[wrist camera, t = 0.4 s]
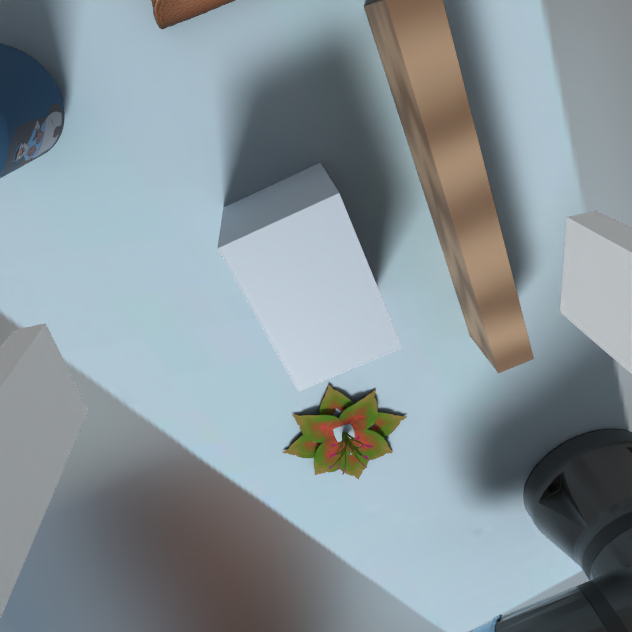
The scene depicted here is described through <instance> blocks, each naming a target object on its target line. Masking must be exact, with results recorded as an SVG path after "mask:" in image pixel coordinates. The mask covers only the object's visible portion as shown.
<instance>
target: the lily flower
mask: <svg viewBox="0 0 632 632" xmlns="http://www.w3.org/2000/svg"><path fill="white" fill-rule="evenodd" d="M375 391H376V389H375V390H374V391H373V392H372V393H370V394H369V395H367V396H366V397H365V398H364V399H361V400H360V401H358V402H357V403H356V404H353V402H352V401H351V400H350V399H349V398H347V397H346V396H344V395H343V394H342V393H340V392H338V391H337V390H333V388H332V387H331V386H330V385H328V389H327V391H326V393H325V397H324V398H323V400H322V403H321V406H320V409H319V415H301V416H299V415H293V414H292V415H293V417H294V418H295V420H296V422H297V424H298V425H300V430H301V432H302V433H303V435H302V436H301V437H299V438H298V439H297V440H296V441H295V442H294V443H293V444H292V445H291V446H290V447H289V449H288V450H285V451H284V452H283V453H288V454H292V455H297V456H298V457H302V458H314V468H315V470H316V472H315V475H316V474H320V473H325V472H334V471H337V470H338V469H340V470H342V471H343V474H344V472H345V473H347V474H349V475H351V476H352V475H353V476H355V477H356V478H357V479H359V477H360V475H361V474H362V470H364V469H365V467H366V466H367V463H368V461H369V460H372V459H376V458H378V457H381V456H383V455H384V454H386V453H392V451H391V449H390V447H388V443H387V442H386V440H385V439H384V438H383V437H386V436H387V435H389V434H390V433H392V432H393V431H394V430H395V429H396V427H397V426H398V425H399V424H400V421H401V420H403V419H405V418H406V417H405V416H404V417H402V416H398V415H395V416H394V415H393V414H388V413H381V412H378V408H377V402H376V399H375V397H374V395H375ZM336 408H338V409H339V410H340V411H342V412H343V413H342V414H341V415H340V417H339V418H337V417H335V416H333V414H334V412H335V409H336ZM350 423H351V425H352V427H353V429H354V432H355V437H354V438H353V437H352V436H350V435H349V434H348V432H345V433H342V441H341V442H337V440H336V438H335V436H334V433H333V429H334V428H337V427H339V426H342V425H346V424H350ZM373 424H375V425H374V426H373V427H372V428H371V429H369V430H368V428H370V427H371V426H372V425H373ZM344 434H345V435H344ZM348 436H349V437H350V438H352V439H350V438H349V437H348ZM314 442H317V443H314ZM320 442H323V443H322V444H320ZM350 452H351V453H352V455H350ZM366 468H367V467H366Z"/></svg>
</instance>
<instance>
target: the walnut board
mask: <svg viewBox="0 0 632 632" xmlns="http://www.w3.org/2000/svg"><path fill="white" fill-rule="evenodd" d="M364 8H365V11H366V14H367V18H368V21H369V24H370V27H371V30H372V33H373V36H374V39H375V42H376V45H377V49H378V52H379V55H380V58H381V61H382V64H383V67H384V70H385V73H386V76H387V80H388V83H389V86H390V89H391V92H392V95H393V98H394V101H395V104H396V107H397V111H398V114H399V117H400V120H401V123H402V126H403V129H404V132H405V135H406V138H407V142H408V145H409V148H410V151H411V154H412V157H413V160H414V163H415V166H416V170H417V173H418V176H419V179H420V182H421V185H422V188H423V191H424V194H425V197H426V201H427V204H428V207H429V210H430V213H431V216H432V219H433V222H434V225H435V228H436V232H437V235H438V238H439V241H440V244H441V247H442V250H443V253H444V256H445V259H446V263H447V266H448V269H449V272H450V275H451V278H452V281H453V284H454V287H455V291H456V294H457V297H458V300H459V303H460V306H461V309H462V312H463V315H464V318H465V322H466V325H467V328H468V331H469V334H470V337H471V338H472V339H473V340H474V342H475V343H476V344H477V346H478V347H479V348H480V350H481V351H482V352H483V354H484V355H485V356H486V358H487V359H488V360H489V361H490V363H491V364H492V365H493V367H494V368H495V369H496V371H497V372H498V373H500V372H503V371H505V370H507V369H510V368H512V367H515V366H517V365H520V364H522V363H524V362H527V361H529V360H532V359H534V358H533V354H532V350H531V346H530V342H529V338H528V334H527V331H526V327H525V323H524V319H523V315H522V311H521V307H520V303H519V299H518V295H517V291H516V287H515V283H514V279H513V275H512V271H511V267H510V263H509V260H508V256H507V252H506V248H505V244H504V240H503V236H502V232H501V228H500V224H499V220H498V216H497V212H496V208H495V204H494V200H493V196H492V192H491V189H490V185H489V181H488V177H487V173H486V169H485V165H484V161H483V157H482V153H481V149H480V145H479V141H478V137H477V133H476V129H475V125H474V121H473V118H472V114H471V110H470V106H469V102H468V98H467V94H466V90H465V86H464V82H463V78H462V74H461V70H460V66H459V62H458V58H457V54H456V50H455V47H454V43H453V39H452V35H451V31H450V27H449V23H448V19H447V15H446V11H445V7H444V3H443V0H376V1H374V2H372V3H370V4H368V5H366V6H364Z"/></svg>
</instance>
